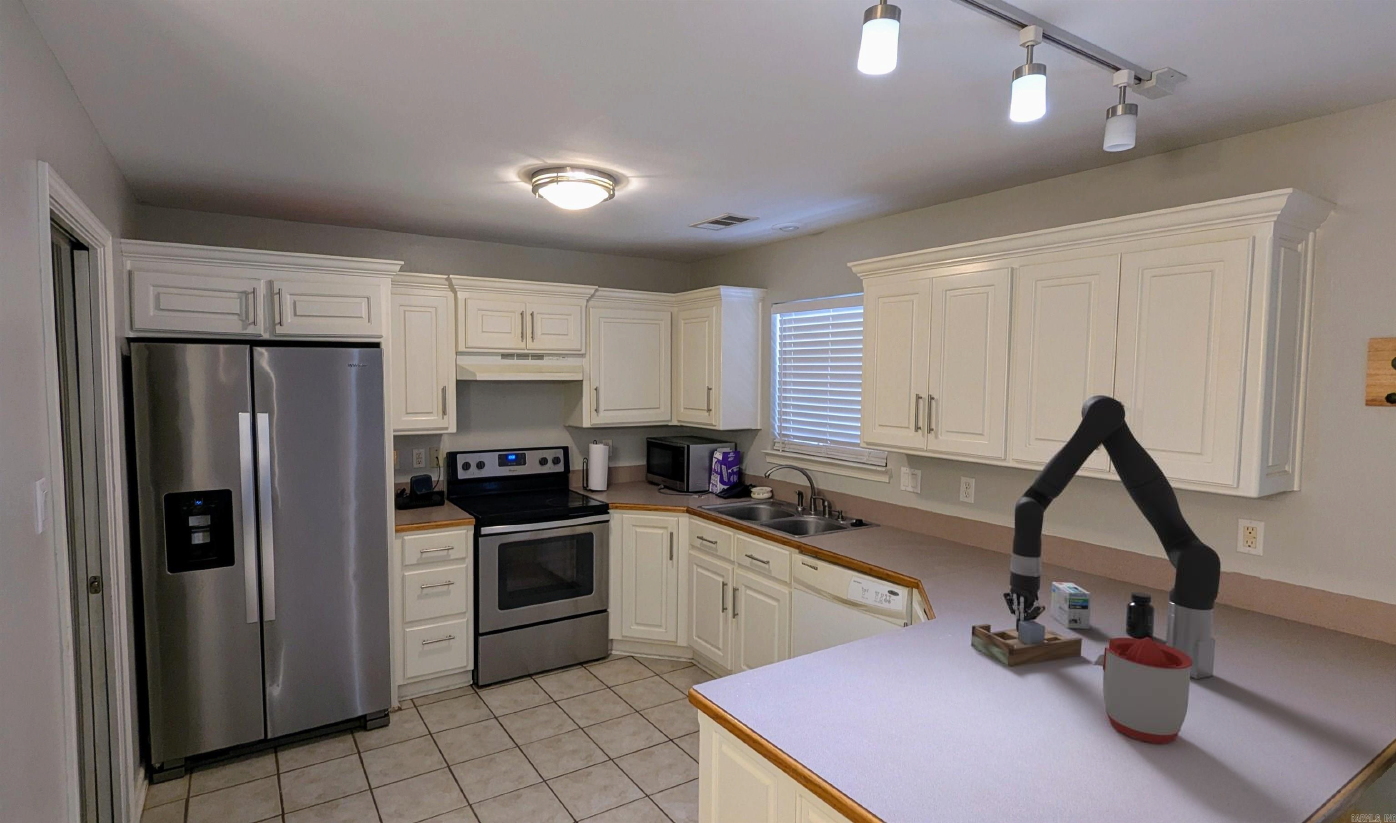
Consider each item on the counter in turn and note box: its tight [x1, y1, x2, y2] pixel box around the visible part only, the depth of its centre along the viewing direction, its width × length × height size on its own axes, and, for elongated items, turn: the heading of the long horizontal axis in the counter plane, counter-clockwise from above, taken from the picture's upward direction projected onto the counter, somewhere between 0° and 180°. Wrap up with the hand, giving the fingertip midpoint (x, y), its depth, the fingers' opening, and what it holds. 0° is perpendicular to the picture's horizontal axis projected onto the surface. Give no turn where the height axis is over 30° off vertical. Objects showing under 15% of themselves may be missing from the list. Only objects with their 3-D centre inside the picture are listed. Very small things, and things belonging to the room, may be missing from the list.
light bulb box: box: [1050, 581, 1092, 629], centre depth 209 cm, size 11×7×11 cm, turn 179°
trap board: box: [970, 623, 1083, 667], centre depth 187 cm, size 14×24×6 cm, turn 111°
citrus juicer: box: [1092, 637, 1193, 745], centre depth 146 cm, size 16×17×20 cm
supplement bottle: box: [1125, 591, 1156, 639], centre depth 200 cm, size 7×7×12 cm
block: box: [1018, 620, 1046, 645], centre depth 185 cm, size 4×4×5 cm
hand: (1021, 632), depth 191 cm, fingers closed
